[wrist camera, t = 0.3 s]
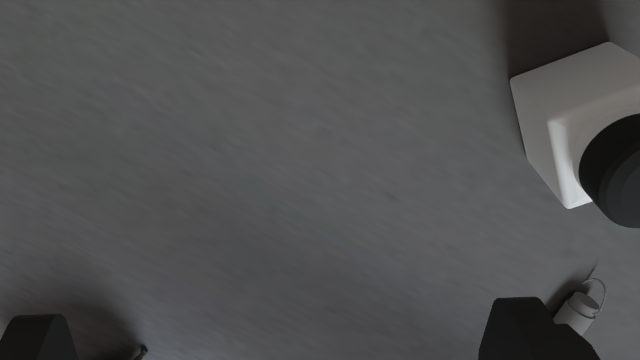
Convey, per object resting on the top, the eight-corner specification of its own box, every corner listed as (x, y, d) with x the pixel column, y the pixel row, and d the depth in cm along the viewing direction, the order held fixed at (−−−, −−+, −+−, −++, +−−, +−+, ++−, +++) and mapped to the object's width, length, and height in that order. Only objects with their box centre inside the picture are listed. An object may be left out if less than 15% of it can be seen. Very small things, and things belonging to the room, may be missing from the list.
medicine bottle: (526, 160, 41) (603, 259, 31) (507, 77, 38) (586, 158, 28) (621, 126, 40) (734, 218, 30) (610, 38, 37) (733, 107, 27)
